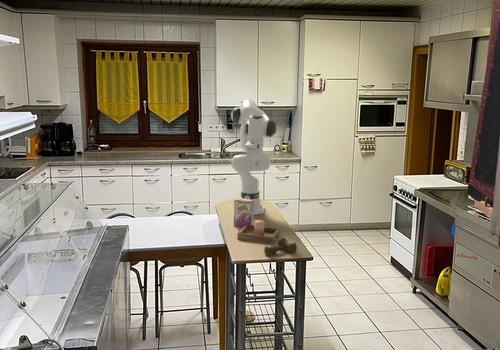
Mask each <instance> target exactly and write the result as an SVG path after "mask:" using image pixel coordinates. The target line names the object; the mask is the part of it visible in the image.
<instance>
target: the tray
mask: <svg viewBox="0 0 500 350" xmlns="http://www.w3.org/2000/svg"><path fill="white" fill-rule="evenodd" d="M280 232H281V231H280V228H277V227H270V226H269V227H267V226H264V236H261V235H254V224H253V225H245V226H244V227H242V228H241V229H240V230H239V231H238V232H237V235H236V236H237V238H236V239H237V240H241V241H249V242H254V243H255V242H256V243H263V244H269V245H273V244H274V242H275V241H276V240H277V239H278V237H279V236H280Z"/></svg>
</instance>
